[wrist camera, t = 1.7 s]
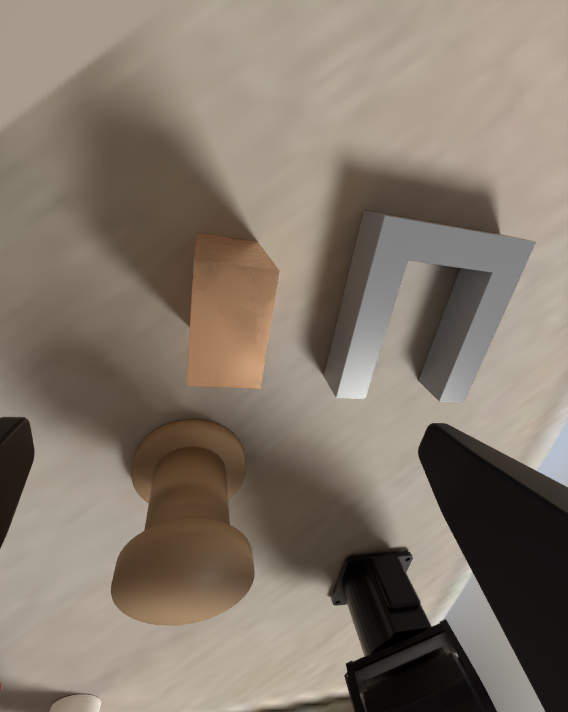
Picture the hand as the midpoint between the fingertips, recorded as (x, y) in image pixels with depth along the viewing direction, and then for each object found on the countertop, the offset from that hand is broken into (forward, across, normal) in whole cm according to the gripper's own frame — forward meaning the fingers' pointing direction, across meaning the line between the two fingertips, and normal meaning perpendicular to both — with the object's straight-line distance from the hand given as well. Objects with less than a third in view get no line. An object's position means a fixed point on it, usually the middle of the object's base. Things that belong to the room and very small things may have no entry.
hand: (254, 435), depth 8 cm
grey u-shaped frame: (+12, -11, +1) cm, 16 cm away
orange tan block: (+12, 0, 0) cm, 12 cm away
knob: (+12, +1, +12) cm, 17 cm away
